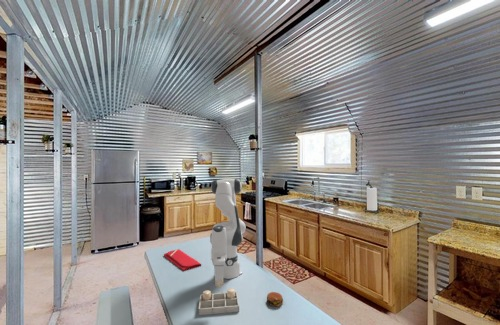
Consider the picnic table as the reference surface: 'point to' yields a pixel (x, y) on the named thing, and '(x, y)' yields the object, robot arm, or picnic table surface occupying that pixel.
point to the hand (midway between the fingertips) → (219, 280)
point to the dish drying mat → (182, 260)
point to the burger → (275, 299)
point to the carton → (218, 304)
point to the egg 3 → (230, 294)
